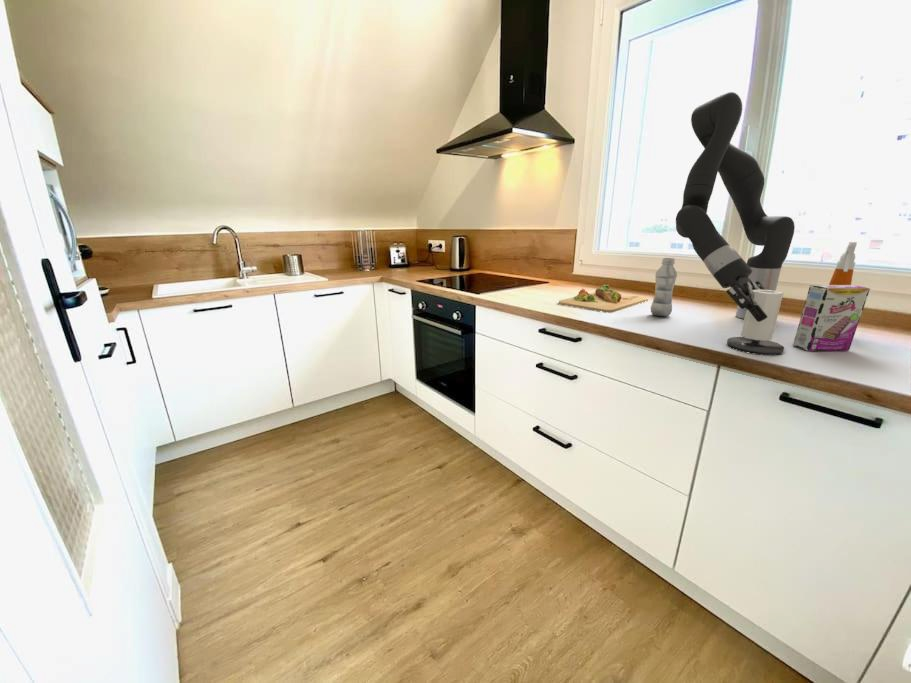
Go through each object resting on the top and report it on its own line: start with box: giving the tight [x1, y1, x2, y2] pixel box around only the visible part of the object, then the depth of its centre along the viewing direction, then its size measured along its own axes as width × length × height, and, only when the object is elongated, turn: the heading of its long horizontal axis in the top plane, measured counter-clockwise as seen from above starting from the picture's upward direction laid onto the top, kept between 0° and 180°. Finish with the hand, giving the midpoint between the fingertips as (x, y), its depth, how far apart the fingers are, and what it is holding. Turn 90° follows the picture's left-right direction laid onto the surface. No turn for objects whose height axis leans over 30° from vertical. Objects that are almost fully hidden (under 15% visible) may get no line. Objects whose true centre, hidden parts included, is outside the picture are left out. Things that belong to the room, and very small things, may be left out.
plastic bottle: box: [650, 257, 678, 317], centre depth 133 cm, size 6×7×20 cm
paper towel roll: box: [740, 289, 784, 341], centre depth 98 cm, size 6×6×12 cm
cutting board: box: [558, 284, 649, 313], centre depth 159 cm, size 35×23×8 cm
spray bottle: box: [828, 241, 857, 285], centre depth 108 cm, size 7×11×26 cm, turn 137°
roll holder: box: [726, 336, 785, 356], centre depth 100 cm, size 12×12×9 cm
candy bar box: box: [792, 284, 871, 352], centre depth 97 cm, size 11×5×16 cm, turn 92°
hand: (768, 317), depth 97 cm, fingers closed on paper towel roll, 6 cm apart
